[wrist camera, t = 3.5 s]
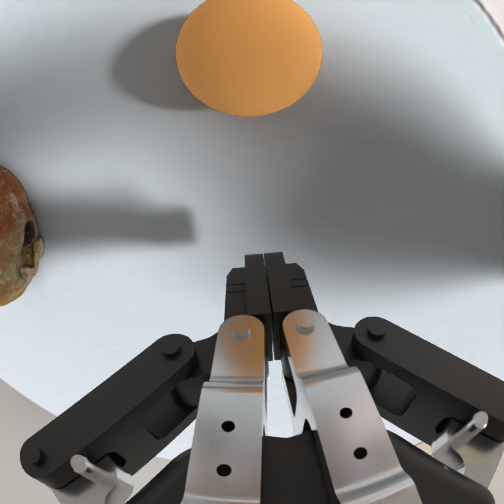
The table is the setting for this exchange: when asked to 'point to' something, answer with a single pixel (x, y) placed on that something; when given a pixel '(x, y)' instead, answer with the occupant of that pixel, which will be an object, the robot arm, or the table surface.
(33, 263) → the bread roll
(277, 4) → the ball
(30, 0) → the table surface
